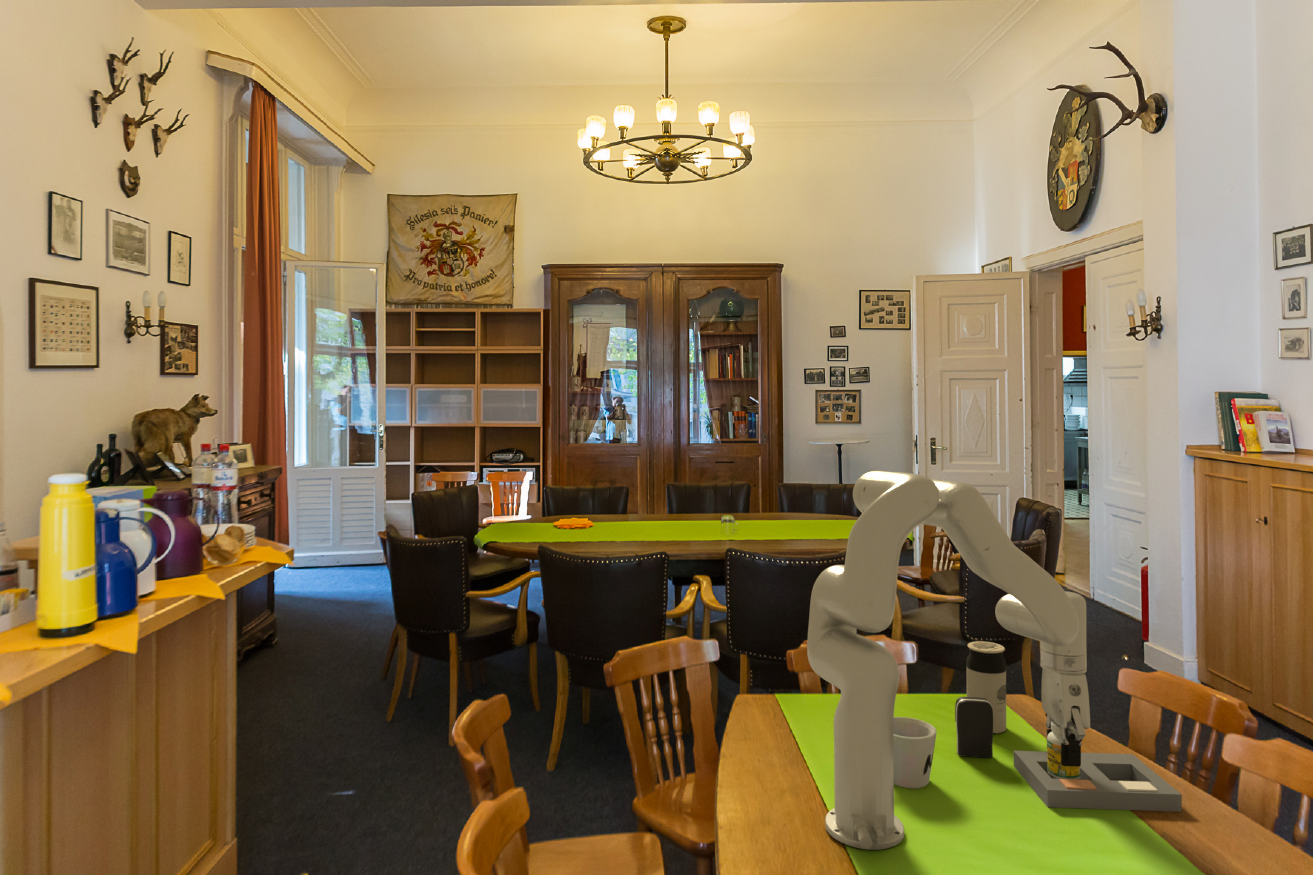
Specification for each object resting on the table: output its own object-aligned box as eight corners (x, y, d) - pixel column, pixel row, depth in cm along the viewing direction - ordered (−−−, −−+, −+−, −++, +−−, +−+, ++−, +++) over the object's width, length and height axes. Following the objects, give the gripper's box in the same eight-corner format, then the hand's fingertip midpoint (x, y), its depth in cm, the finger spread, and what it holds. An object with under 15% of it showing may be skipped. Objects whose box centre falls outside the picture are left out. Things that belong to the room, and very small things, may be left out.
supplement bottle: (1087, 780, 138) (1087, 727, 138) (1063, 784, 136) (1063, 731, 136) (1063, 767, 143) (1063, 716, 143) (1040, 771, 142) (1040, 720, 141)
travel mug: (958, 724, 169) (958, 643, 169) (984, 717, 172) (984, 639, 172) (988, 737, 162) (987, 653, 162) (1014, 730, 165) (1014, 648, 165)
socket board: (1181, 811, 130) (1181, 792, 130) (1047, 807, 132) (1047, 788, 132) (1132, 769, 146) (1132, 752, 146) (1013, 765, 148) (1013, 749, 148)
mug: (941, 795, 137) (941, 740, 137) (856, 788, 140) (855, 734, 140) (932, 769, 147) (932, 718, 147) (853, 763, 150) (852, 713, 150)
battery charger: (989, 751, 155) (989, 695, 155) (994, 759, 151) (994, 702, 151) (953, 748, 156) (953, 693, 156) (957, 756, 153) (957, 700, 153)
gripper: (1107, 675, 131) (1107, 780, 131) (1064, 646, 148) (1064, 739, 148) (1061, 675, 131) (1062, 779, 132) (1023, 646, 148) (1024, 738, 149)
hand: (1063, 757), depth 140 cm, fingers closed on supplement bottle, 5 cm apart
